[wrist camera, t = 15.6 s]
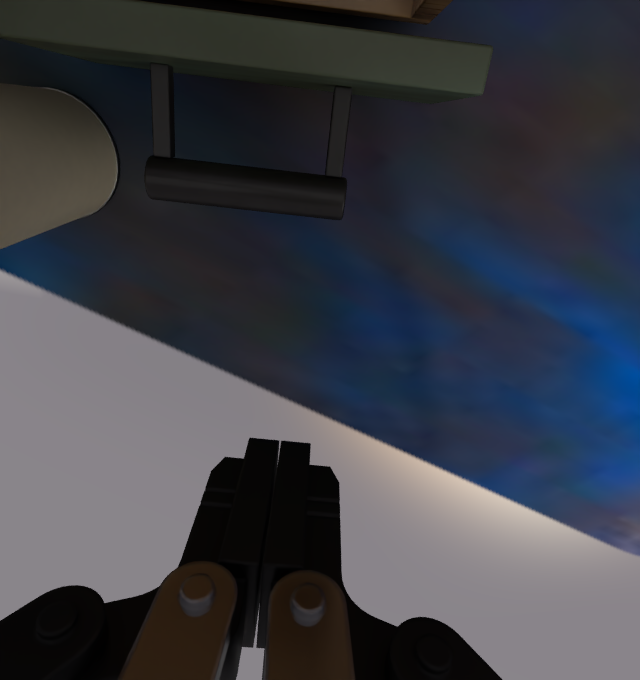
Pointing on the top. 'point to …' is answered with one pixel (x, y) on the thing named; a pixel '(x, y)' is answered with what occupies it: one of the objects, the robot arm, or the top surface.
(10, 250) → the top surface
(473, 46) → the drawer
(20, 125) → the tin can
